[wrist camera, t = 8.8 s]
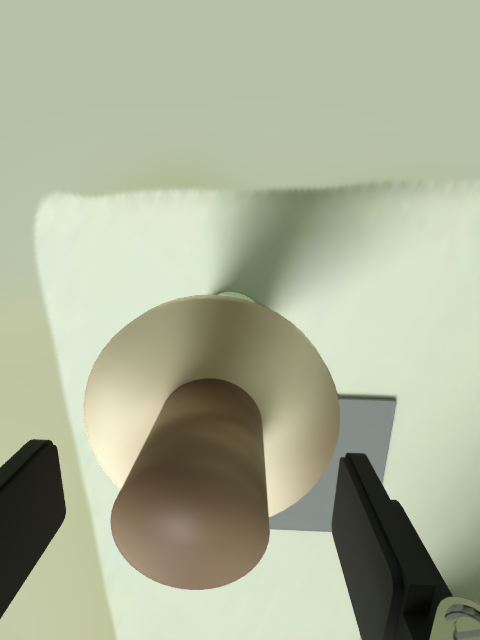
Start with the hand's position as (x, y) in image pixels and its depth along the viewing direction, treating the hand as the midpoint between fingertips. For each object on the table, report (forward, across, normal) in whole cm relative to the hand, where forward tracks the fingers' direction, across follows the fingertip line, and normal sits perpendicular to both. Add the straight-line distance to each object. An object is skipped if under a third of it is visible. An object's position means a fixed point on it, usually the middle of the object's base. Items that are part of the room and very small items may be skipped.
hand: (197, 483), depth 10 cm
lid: (+4, 0, 0) cm, 4 cm away
